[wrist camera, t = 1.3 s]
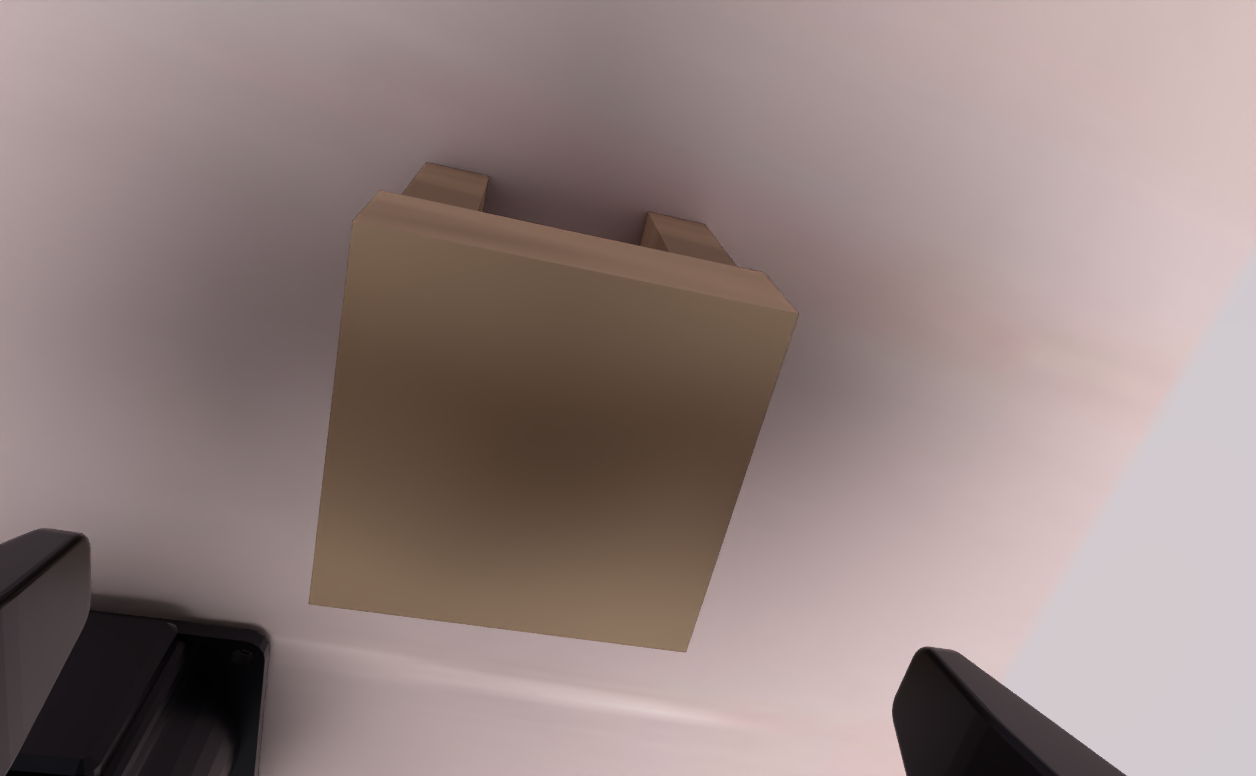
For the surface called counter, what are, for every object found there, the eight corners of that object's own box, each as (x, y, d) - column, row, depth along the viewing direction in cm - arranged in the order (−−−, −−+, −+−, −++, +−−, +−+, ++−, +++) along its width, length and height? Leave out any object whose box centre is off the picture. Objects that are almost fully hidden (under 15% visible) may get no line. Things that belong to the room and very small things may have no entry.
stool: (645, 471, 19) (685, 652, 14) (378, 427, 18) (308, 603, 13) (717, 216, 17) (798, 313, 12) (417, 149, 16) (351, 221, 11)
